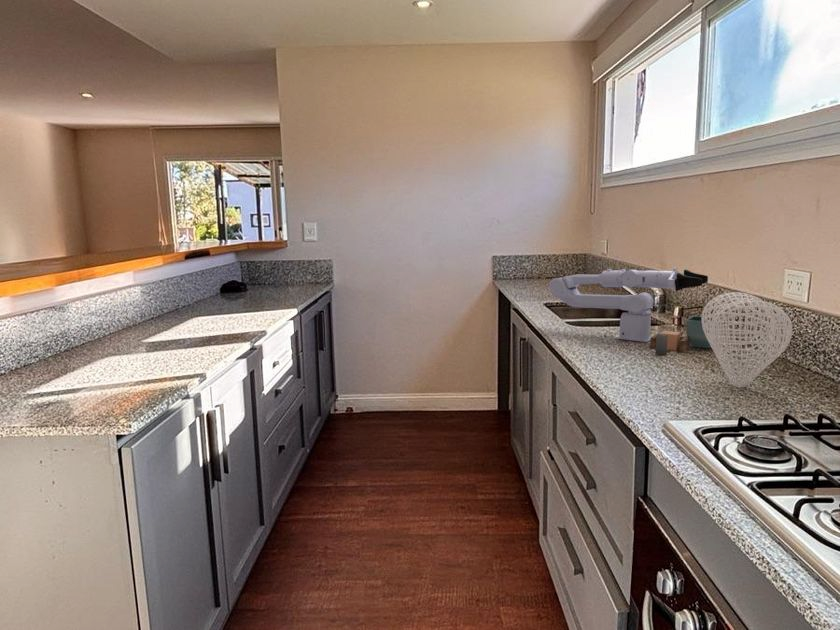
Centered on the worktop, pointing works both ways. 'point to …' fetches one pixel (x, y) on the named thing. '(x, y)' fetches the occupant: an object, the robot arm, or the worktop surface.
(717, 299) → the heart
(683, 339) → the lane
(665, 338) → the tethered block
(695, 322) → the flower pot
